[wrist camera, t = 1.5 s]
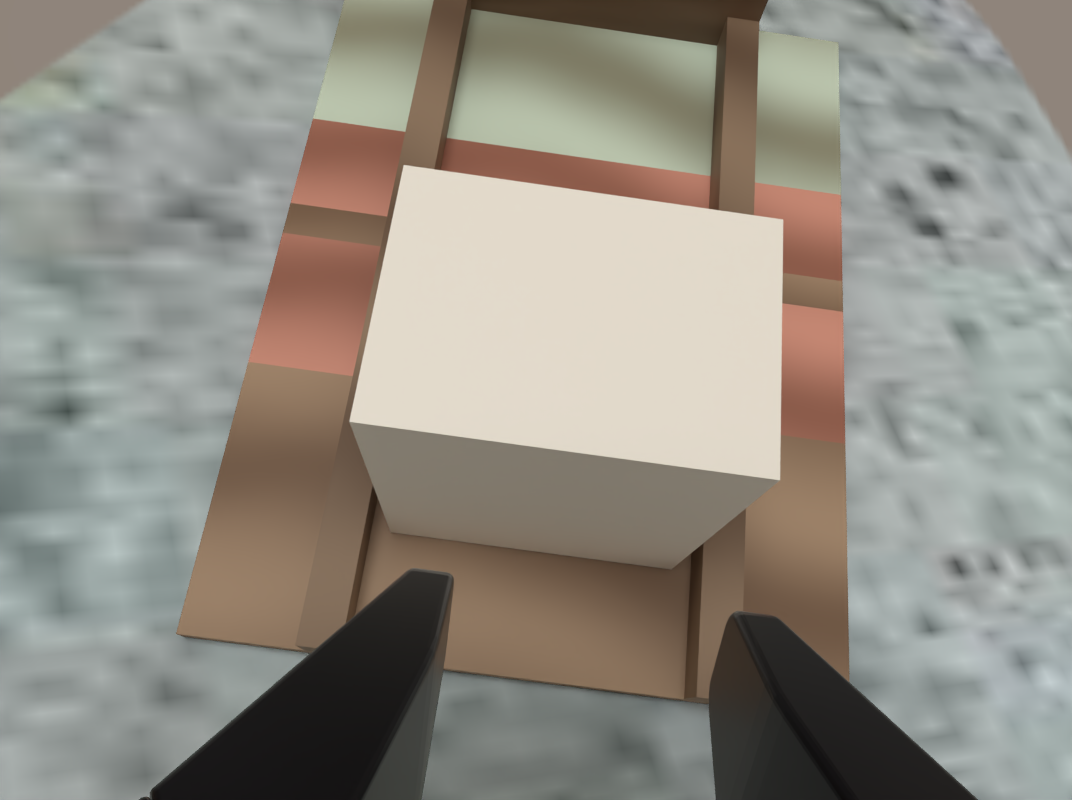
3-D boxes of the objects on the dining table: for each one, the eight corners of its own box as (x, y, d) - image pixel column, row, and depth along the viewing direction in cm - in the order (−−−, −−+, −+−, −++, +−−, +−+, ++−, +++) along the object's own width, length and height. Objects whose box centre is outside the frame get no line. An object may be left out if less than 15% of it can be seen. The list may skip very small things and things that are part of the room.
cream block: (671, 569, 21) (780, 480, 14) (390, 532, 21) (349, 421, 14) (682, 385, 23) (783, 219, 16) (423, 349, 23) (404, 164, 16)
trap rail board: (839, 721, 21) (909, 717, 18) (183, 636, 21) (128, 617, 17) (831, 55, 29) (878, -34, 25) (354, -16, 28) (339, -116, 25)
